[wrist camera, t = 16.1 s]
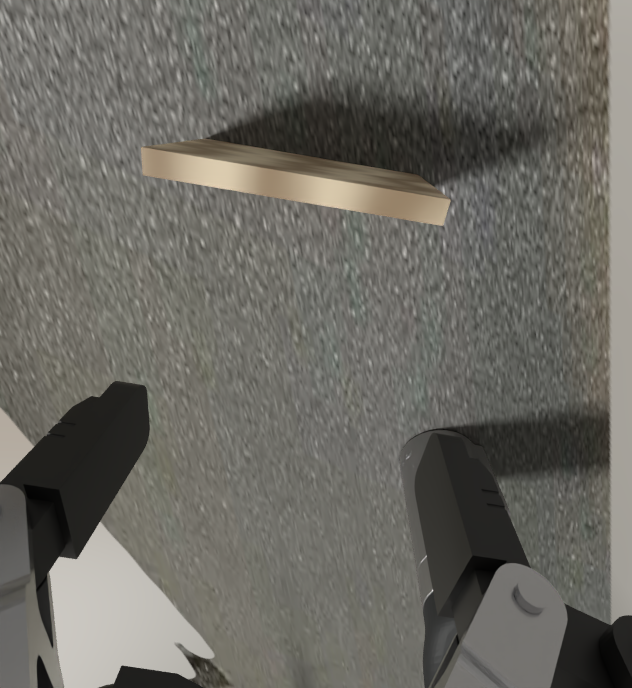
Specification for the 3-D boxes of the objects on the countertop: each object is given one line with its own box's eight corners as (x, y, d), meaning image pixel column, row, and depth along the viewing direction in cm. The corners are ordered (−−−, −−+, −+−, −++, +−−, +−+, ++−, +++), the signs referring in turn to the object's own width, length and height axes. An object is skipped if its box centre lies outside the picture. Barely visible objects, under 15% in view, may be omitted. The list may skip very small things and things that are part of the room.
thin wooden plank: (418, 174, 33) (450, 199, 23) (413, 193, 34) (442, 225, 24) (205, 138, 33) (141, 147, 23) (205, 158, 34) (142, 175, 23)
